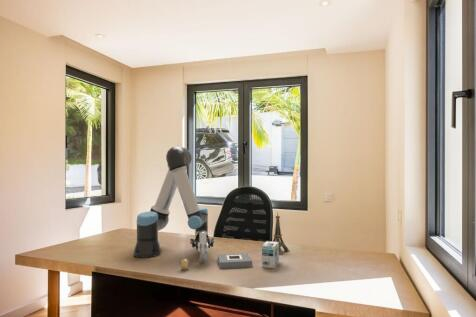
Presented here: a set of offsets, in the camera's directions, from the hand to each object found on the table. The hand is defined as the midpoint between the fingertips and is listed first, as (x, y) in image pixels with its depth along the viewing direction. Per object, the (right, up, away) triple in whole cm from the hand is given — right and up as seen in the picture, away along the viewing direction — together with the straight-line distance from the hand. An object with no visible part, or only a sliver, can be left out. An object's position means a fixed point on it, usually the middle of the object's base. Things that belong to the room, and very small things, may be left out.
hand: (203, 248), depth 159 cm
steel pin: (-1, -9, +5) cm, 10 cm away
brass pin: (-8, -9, -5) cm, 13 cm away
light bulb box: (+34, -9, +2) cm, 35 cm away
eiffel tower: (+41, -10, +26) cm, 49 cm away
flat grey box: (+16, -9, +4) cm, 19 cm away
